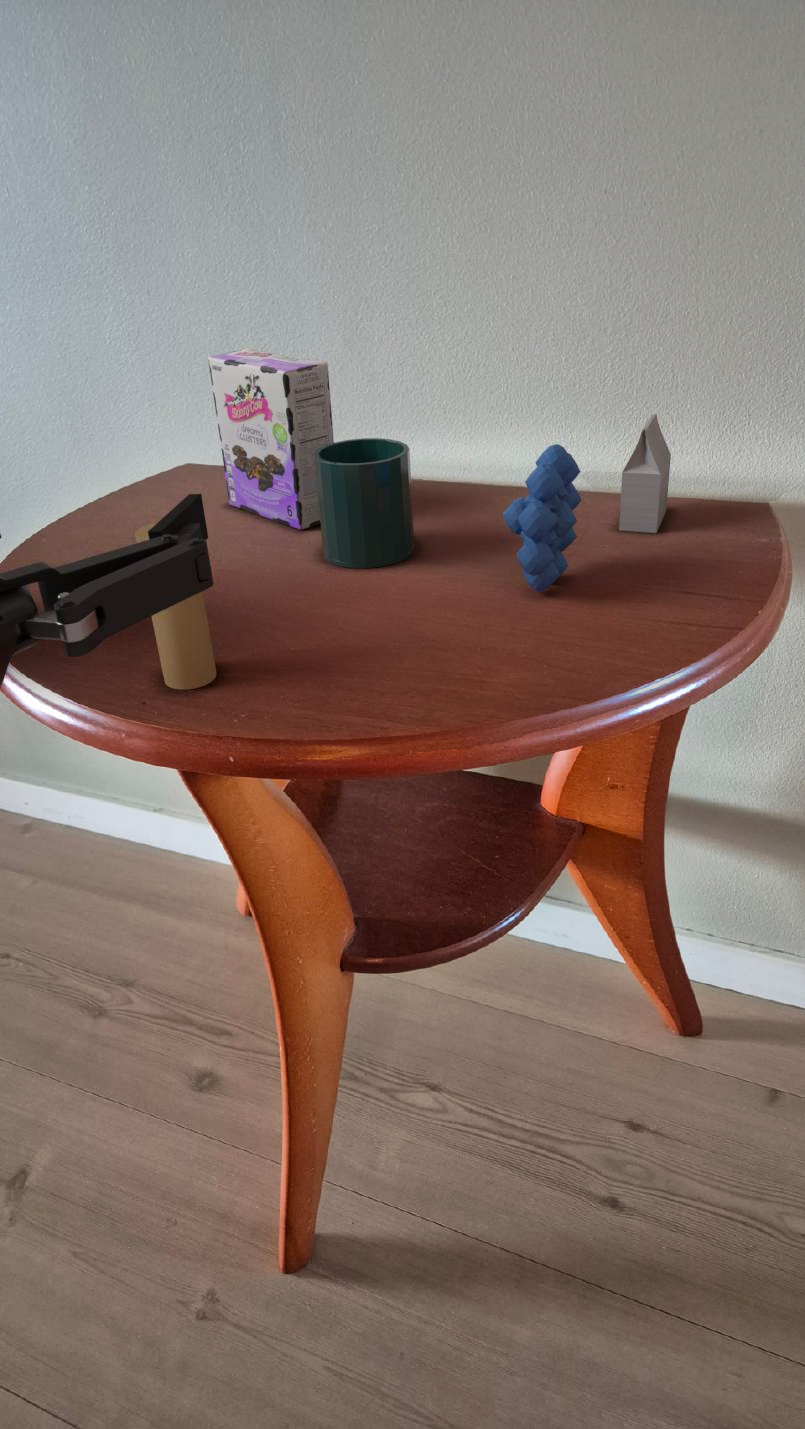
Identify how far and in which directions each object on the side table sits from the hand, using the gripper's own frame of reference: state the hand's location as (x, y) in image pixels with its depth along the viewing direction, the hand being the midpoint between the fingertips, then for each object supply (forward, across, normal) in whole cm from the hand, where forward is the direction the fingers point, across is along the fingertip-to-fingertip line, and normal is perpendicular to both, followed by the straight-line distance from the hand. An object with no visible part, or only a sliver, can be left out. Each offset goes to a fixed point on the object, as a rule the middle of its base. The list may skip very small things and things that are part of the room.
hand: (93, 516), depth 60 cm
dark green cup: (+37, +9, -16) cm, 41 cm away
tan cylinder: (+10, 0, -16) cm, 19 cm away
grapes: (+30, +26, -16) cm, 43 cm away
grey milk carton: (+46, +36, -16) cm, 61 cm away
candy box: (+49, -3, -16) cm, 52 cm away
